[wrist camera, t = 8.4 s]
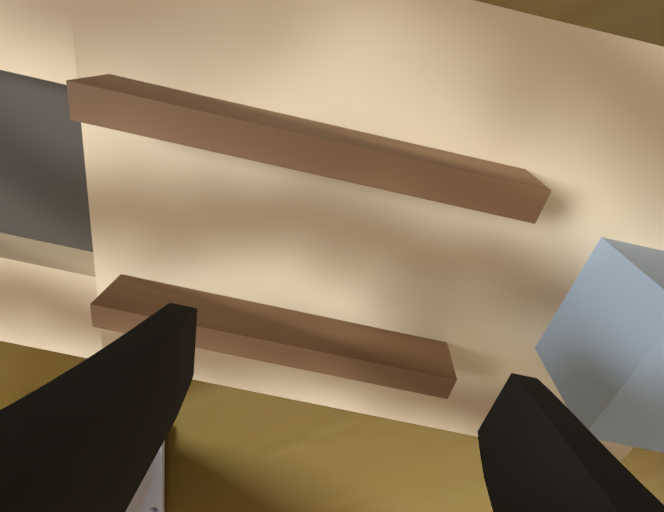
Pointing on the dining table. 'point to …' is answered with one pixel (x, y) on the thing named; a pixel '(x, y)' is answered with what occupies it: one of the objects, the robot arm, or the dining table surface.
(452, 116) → the birch deck
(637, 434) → the slate block
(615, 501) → the robot arm
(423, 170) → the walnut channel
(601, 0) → the dining table surface
